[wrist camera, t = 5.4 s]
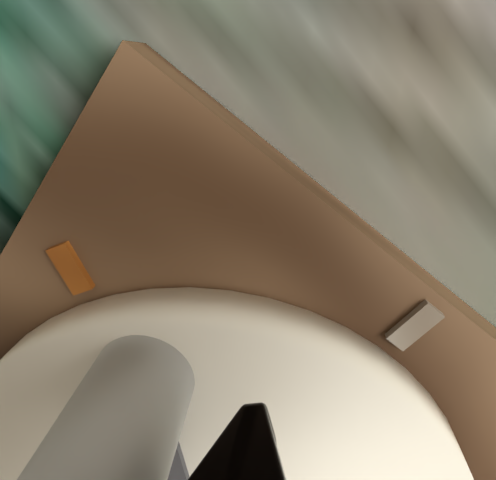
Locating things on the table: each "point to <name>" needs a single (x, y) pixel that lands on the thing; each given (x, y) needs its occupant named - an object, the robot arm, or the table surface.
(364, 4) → the table surface
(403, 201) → the table surface
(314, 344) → the dial
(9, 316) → the dial base
